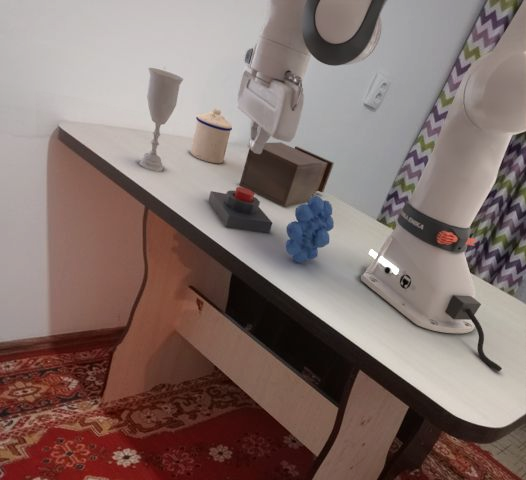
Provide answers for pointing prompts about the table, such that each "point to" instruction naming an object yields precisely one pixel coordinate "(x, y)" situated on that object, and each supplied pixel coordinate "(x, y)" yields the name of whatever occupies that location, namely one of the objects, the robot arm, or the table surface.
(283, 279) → the table surface
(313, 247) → the grapes
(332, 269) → the table surface
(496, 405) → the table surface
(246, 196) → the button
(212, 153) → the lidded canister
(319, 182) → the drawer
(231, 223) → the control block
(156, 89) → the chalice
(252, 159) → the cabinet
